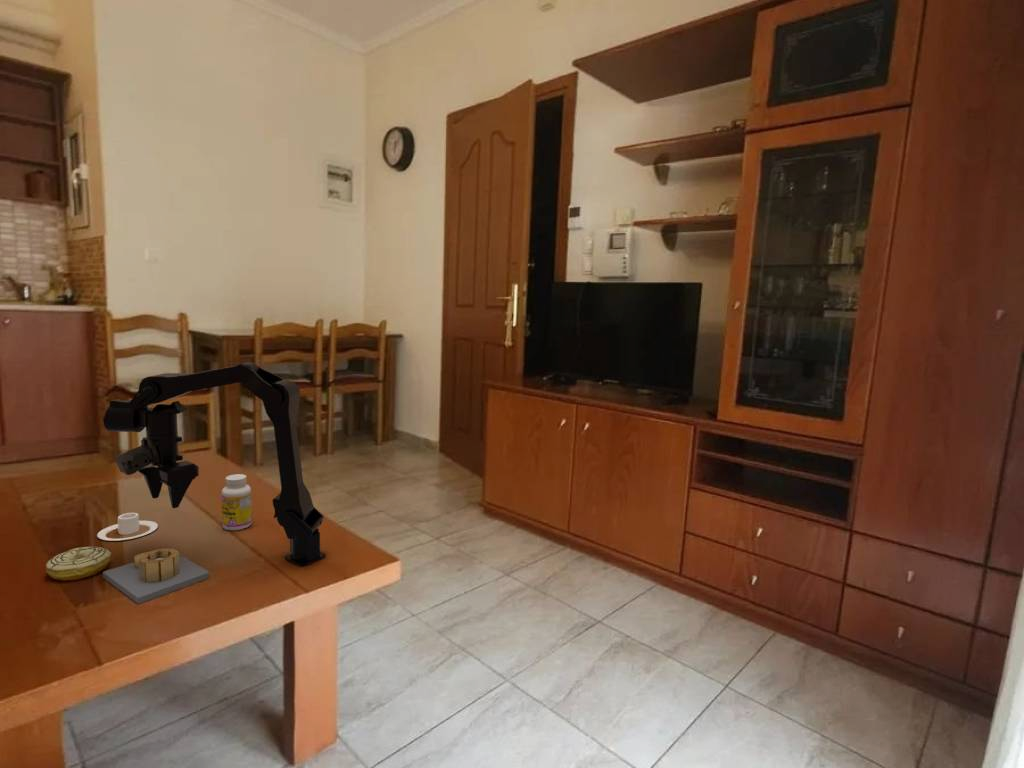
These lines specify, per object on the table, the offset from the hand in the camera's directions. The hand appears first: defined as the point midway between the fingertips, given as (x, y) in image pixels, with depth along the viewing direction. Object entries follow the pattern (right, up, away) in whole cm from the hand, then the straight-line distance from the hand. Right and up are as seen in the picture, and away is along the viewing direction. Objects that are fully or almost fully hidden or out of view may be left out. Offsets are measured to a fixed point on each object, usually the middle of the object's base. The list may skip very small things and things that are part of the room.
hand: (165, 502), depth 120 cm
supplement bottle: (+6, -10, +19) cm, 22 cm away
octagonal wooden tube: (+5, -12, -9) cm, 16 cm away
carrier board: (+3, -13, -8) cm, 16 cm away
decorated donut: (-13, -13, -6) cm, 20 cm away
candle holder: (-17, -10, +13) cm, 24 cm away
